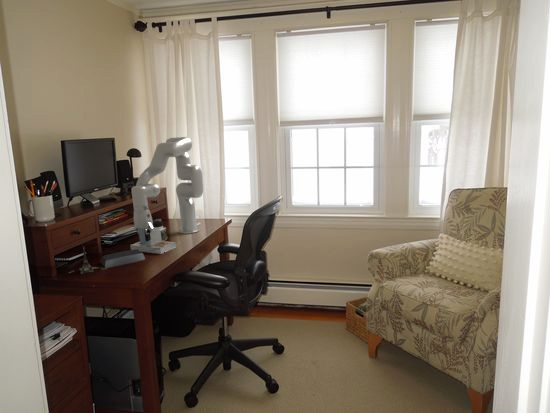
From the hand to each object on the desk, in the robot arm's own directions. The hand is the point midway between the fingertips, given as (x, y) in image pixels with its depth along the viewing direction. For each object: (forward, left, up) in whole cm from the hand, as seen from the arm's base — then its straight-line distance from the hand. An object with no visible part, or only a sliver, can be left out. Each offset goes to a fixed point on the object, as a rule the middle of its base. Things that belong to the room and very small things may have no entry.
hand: (145, 240), depth 223 cm
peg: (0, 0, -4) cm, 4 cm away
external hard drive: (+22, +6, -5) cm, 23 cm away
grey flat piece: (0, +6, -4) cm, 7 cm away
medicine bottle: (-15, -4, -5) cm, 16 cm away
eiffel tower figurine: (+38, +1, -5) cm, 39 cm away
